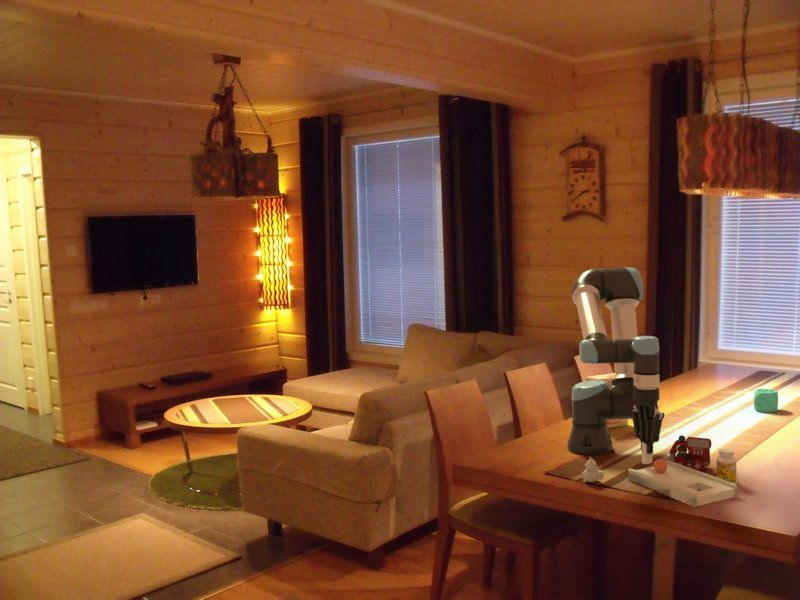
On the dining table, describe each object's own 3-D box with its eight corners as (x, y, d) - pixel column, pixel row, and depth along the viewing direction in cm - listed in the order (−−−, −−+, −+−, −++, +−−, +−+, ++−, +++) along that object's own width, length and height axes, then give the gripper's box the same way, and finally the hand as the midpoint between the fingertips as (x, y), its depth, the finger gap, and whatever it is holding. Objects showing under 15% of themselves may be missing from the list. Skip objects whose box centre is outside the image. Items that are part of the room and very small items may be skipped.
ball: (650, 471, 230) (650, 458, 230) (660, 469, 232) (660, 456, 232) (660, 475, 227) (660, 462, 226) (670, 472, 228) (670, 459, 228)
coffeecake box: (597, 430, 287) (596, 379, 286) (585, 426, 294) (584, 376, 292) (628, 424, 293) (628, 375, 292) (616, 421, 300) (616, 372, 298)
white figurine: (585, 477, 234) (585, 452, 234) (606, 481, 231) (606, 455, 230) (579, 483, 230) (579, 457, 229) (601, 486, 226) (600, 460, 225)
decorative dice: (775, 413, 302) (776, 393, 302) (753, 411, 307) (753, 392, 306) (778, 409, 309) (778, 389, 308) (756, 407, 313) (756, 388, 313)
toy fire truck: (672, 462, 246) (672, 431, 245) (713, 468, 239) (713, 435, 238) (667, 468, 240) (667, 436, 239) (709, 474, 233) (709, 441, 232)
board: (628, 480, 231) (628, 468, 230) (668, 471, 237) (668, 460, 237) (694, 507, 207) (693, 494, 207) (736, 496, 214) (736, 484, 213)
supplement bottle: (740, 483, 224) (740, 451, 223) (727, 486, 222) (727, 454, 221) (725, 478, 229) (725, 447, 228) (712, 481, 227) (712, 449, 226)
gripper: (622, 385, 236) (623, 459, 238) (652, 392, 225) (652, 470, 227) (641, 382, 240) (641, 455, 241) (671, 389, 228) (672, 466, 230)
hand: (647, 462), depth 234 cm, fingers closed
